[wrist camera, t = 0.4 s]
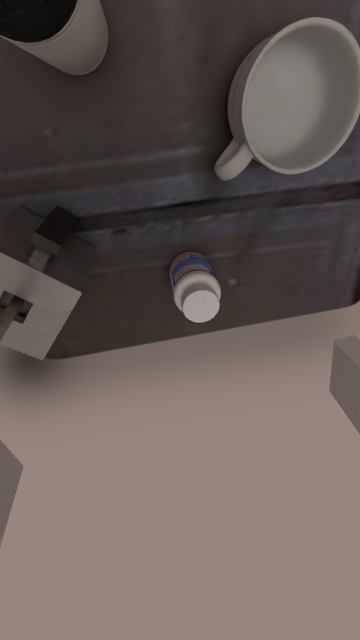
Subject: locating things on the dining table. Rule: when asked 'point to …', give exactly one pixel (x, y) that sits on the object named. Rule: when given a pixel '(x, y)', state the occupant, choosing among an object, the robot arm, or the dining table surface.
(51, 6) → the travel mug
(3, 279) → the grey block with hole
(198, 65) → the dining table surface
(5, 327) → the plunger
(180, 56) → the dining table surface
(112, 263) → the dining table surface
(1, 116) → the dining table surface
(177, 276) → the pill bottle
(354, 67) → the teacup
